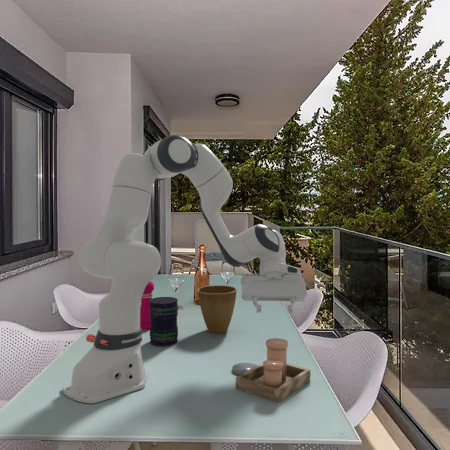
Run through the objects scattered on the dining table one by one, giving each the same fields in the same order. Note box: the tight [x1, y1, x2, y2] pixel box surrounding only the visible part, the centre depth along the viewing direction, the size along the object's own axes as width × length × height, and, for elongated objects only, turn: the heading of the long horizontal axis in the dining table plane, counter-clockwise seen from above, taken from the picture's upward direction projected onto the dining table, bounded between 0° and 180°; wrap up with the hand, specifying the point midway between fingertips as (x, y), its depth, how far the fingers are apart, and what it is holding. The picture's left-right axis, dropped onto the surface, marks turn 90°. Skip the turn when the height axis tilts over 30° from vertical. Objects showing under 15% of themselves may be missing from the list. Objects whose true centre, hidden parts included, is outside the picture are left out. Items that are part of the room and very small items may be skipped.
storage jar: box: [149, 296, 179, 348], centre depth 155 cm, size 10×10×15 cm
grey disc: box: [231, 362, 258, 376], centre depth 130 cm, size 8×8×1 cm
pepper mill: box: [140, 280, 155, 331], centre depth 173 cm, size 7×7×20 cm
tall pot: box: [265, 337, 289, 380], centre depth 123 cm, size 6×6×10 cm
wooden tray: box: [235, 362, 311, 403], centre depth 121 cm, size 17×13×3 cm
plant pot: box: [196, 284, 238, 334], centre depth 169 cm, size 15×15×16 cm
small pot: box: [262, 359, 283, 388], centre depth 115 cm, size 5×5×7 cm
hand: (274, 311), depth 135 cm, fingers open, 8 cm apart
